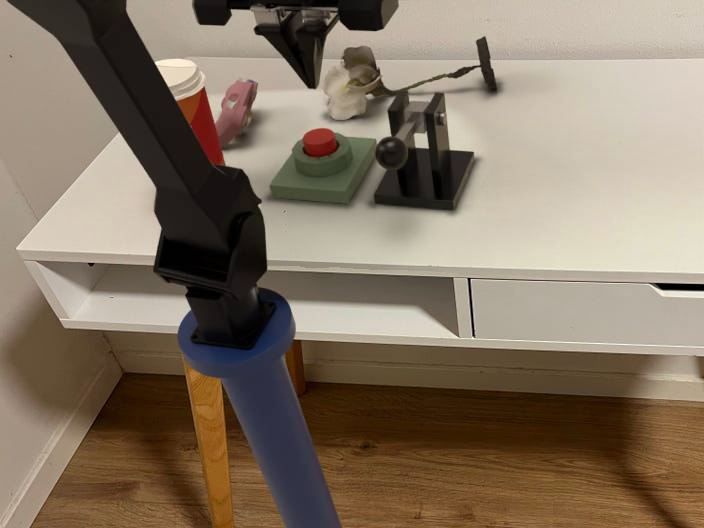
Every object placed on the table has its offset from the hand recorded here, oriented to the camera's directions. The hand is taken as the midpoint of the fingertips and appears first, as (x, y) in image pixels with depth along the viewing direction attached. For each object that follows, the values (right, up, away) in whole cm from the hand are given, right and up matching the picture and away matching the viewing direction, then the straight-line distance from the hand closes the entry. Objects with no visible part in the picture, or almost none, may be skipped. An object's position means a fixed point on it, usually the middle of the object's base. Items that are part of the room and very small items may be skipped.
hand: (313, 87), depth 80 cm
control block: (-1, -6, +11) cm, 13 cm away
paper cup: (-15, -8, +10) cm, 20 cm away
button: (-1, -4, +9) cm, 10 cm away
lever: (+9, -6, +1) cm, 11 cm away
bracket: (+11, -8, +9) cm, 16 cm away
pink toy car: (-14, +1, +20) cm, 24 cm away
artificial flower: (+8, +6, +22) cm, 24 cm away
